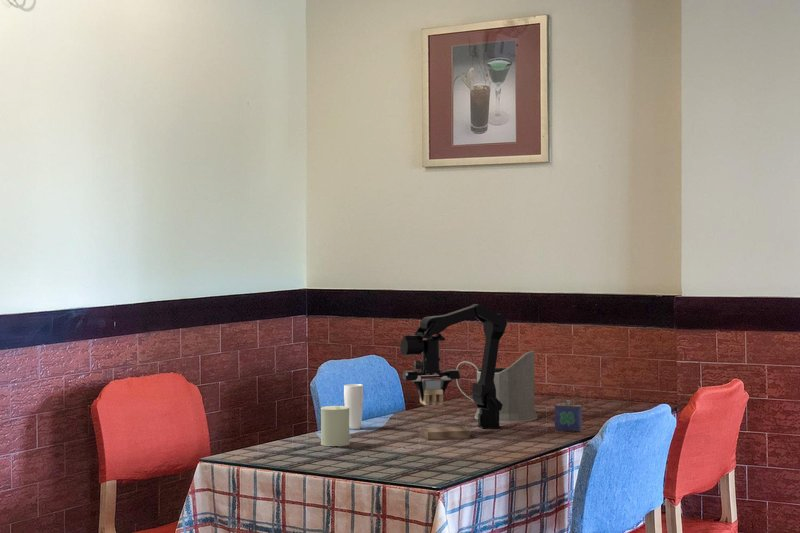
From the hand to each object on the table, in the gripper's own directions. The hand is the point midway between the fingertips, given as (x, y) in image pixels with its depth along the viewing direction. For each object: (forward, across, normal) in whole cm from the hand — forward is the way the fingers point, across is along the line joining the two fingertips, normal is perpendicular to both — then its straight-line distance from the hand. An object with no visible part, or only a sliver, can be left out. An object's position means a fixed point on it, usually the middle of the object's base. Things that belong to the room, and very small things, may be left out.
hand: (431, 400), depth 334 cm
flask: (+11, -45, +10) cm, 47 cm away
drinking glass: (+11, +24, -15) cm, 30 cm away
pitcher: (+11, -32, -29) cm, 45 cm away
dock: (+11, -2, +10) cm, 15 cm away
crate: (-4, 0, 0) cm, 4 cm away
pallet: (+1, 0, 0) cm, 1 cm away
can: (+11, +35, +14) cm, 39 cm away
